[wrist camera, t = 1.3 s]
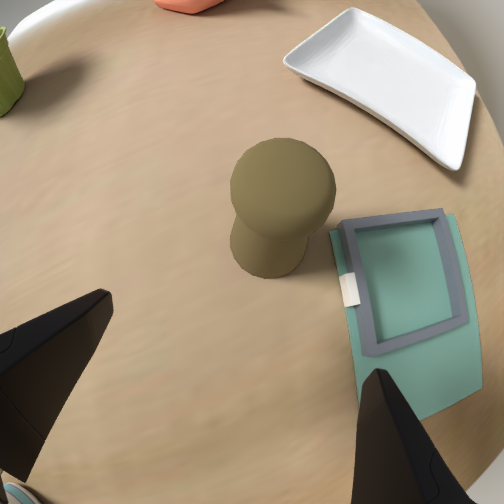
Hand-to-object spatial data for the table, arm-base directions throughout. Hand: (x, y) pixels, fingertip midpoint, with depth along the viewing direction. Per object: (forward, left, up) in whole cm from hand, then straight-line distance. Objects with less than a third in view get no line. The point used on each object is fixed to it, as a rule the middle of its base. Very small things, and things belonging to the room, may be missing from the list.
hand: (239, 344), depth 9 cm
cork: (+7, -3, -13) cm, 15 cm away
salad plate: (+25, -22, -14) cm, 36 cm away
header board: (-2, -15, -13) cm, 20 cm away
